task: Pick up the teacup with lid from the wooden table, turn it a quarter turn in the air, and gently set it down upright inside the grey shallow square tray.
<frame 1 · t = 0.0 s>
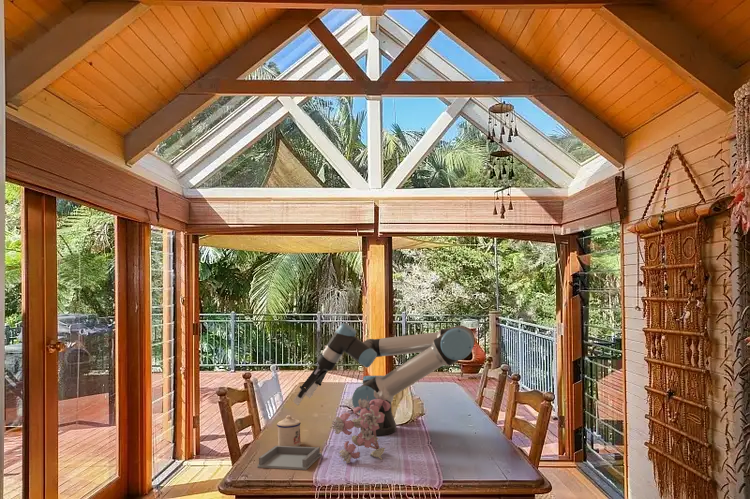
hand: (301, 399, 233), 15 cm above the table, tool tilted 35°, fingers open, 13 cm apart
teacup with lid: (290, 445, 222), on the table
grey shallow square tray: (290, 461, 202), on the table
flower: (361, 460, 201), on the table
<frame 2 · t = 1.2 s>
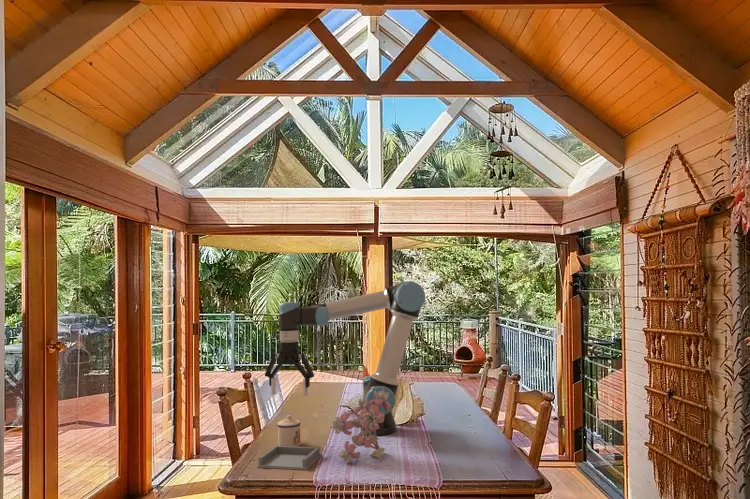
hand: (289, 395, 224), 19 cm above the table, tool pointing down, fingers open, 13 cm apart
nothing on the table moved.
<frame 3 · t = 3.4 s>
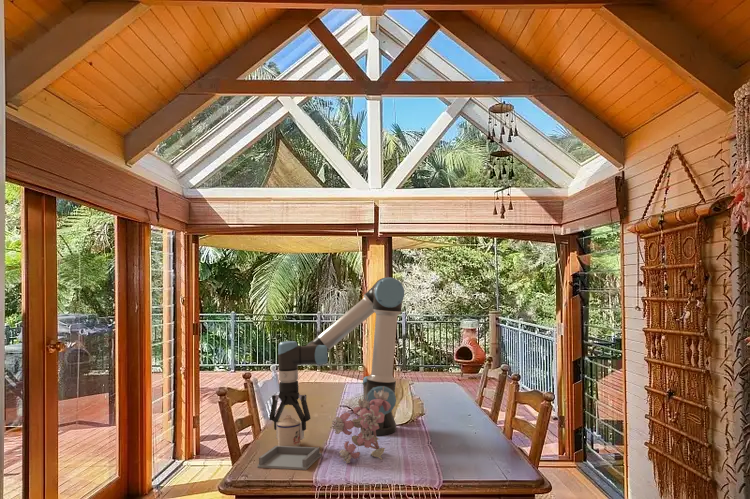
hand: (290, 438, 222), 2 cm above the table, tool pointing down, fingers closed on teacup with lid, 9 cm apart
teacup with lid: (290, 445, 222), on the table, touching gripper
everything else where it was.
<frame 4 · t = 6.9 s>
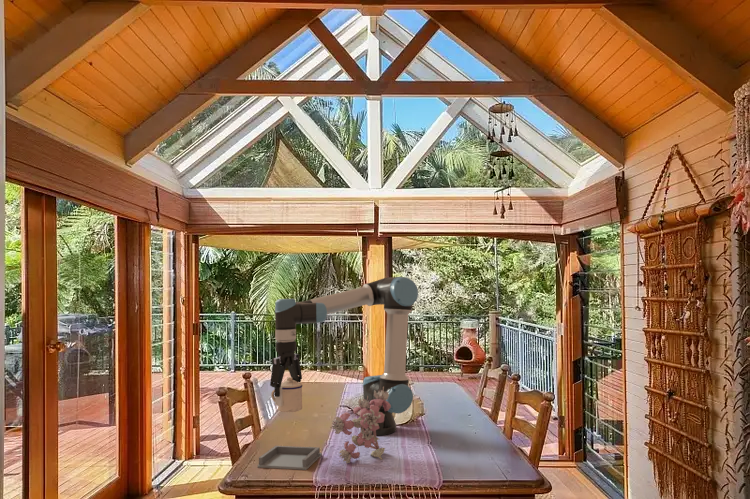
hand: (286, 402, 207), 20 cm above the table, tool pointing down, fingers closed on teacup with lid, 9 cm apart
teacup with lid: (286, 410, 206), point 17 cm above the table, touching gripper
everything else where it was.
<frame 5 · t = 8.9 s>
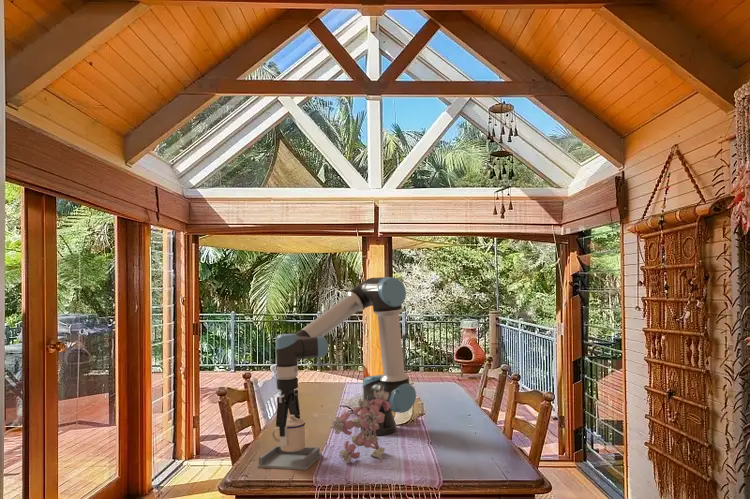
hand: (288, 441, 201), 7 cm above the table, tool pointing down, fingers closed on teacup with lid, 9 cm apart
teacup with lid: (288, 449, 201), point 5 cm above the table, touching gripper
everything else where it was.
when the fingers open (4 cm above the table, at t = 10.3 s): teacup with lid drops 1 cm, resting on grey shallow square tray.
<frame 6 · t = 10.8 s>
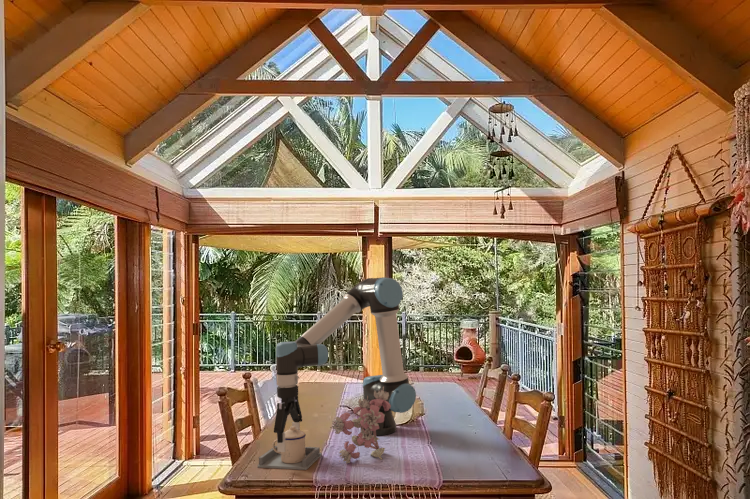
hand: (289, 445, 201), 6 cm above the table, tool pointing down, fingers open, 13 cm apart
teacup with lid: (289, 460, 201), point 1 cm above the table, touching grey shallow square tray
everything else where it was.
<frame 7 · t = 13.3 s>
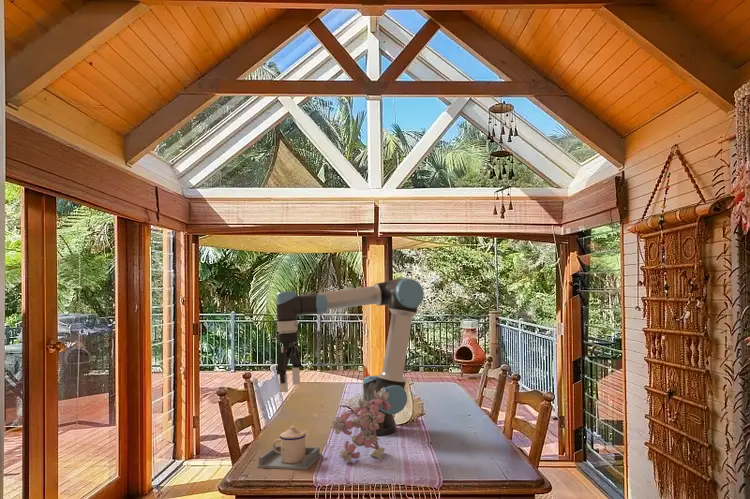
hand: (290, 388, 214), 24 cm above the table, tool pointing down, fingers open, 13 cm apart
nothing on the table moved.
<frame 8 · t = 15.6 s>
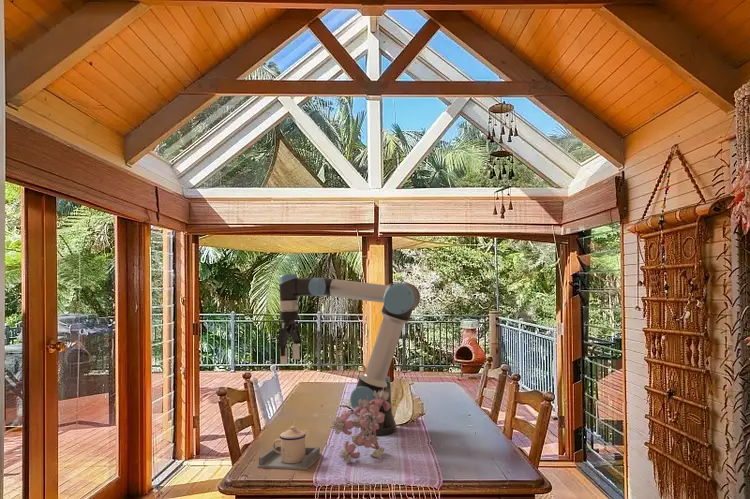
hand: (290, 361, 236), 31 cm above the table, tool pointing down, fingers open, 13 cm apart
nothing on the table moved.
at the end: teacup with lid inside the target area on the grey shallow square tray (0.1 cm from its centre), point 0.6 cm above the grey shallow square tray's base; teacup with lid tilted 0°; the gripper is holding nothing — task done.
